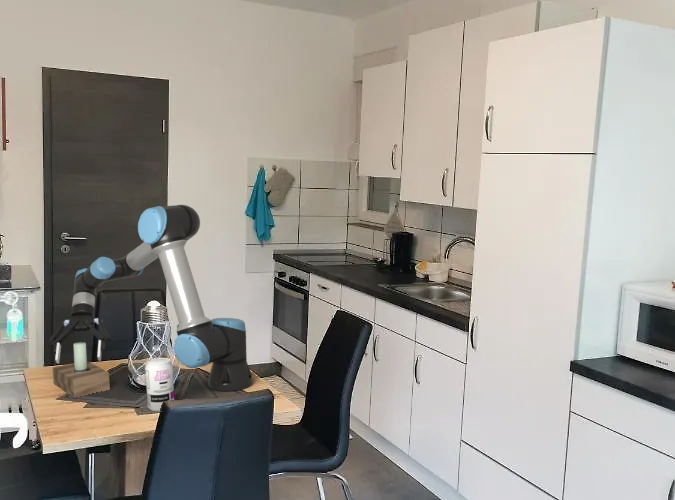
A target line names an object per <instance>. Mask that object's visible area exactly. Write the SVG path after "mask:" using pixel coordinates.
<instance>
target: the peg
mask: <svg viewBox="0 0 675 500" xmlns="http://www.w3.org/2000/svg"><path fill="white" fill-rule="evenodd" d="M73 361H74V362H73V363H74V367H75V368H74V371H75V374H76V373H81V372H85V371H87V361H88V359H87V342H85V341H79V342H74V343H73Z"/></svg>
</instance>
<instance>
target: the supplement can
mask: <svg viewBox="0 0 675 500" xmlns="http://www.w3.org/2000/svg"><path fill="white" fill-rule="evenodd" d="M173 369H174V367H173V363H172V362H171V359H170V358H168V357H166V358H165V357H158V358H153V359H152V358H151V359H150V360H148V361H147V363H146V365H145V381H146V382H145V383H146V386H145V387H146V403H147V408H148V409H149V410H150V411H152V412H161V411H160V408H161V405H162V403H163V402H164V401H170V400H174V401H175V389H174V388H175V386H174V370H173Z"/></svg>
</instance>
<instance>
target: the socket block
mask: <svg viewBox="0 0 675 500" xmlns="http://www.w3.org/2000/svg"><path fill="white" fill-rule="evenodd" d="M74 368H75V367H74V362H73V363H72V362H71V363H68V364H64V365H63V364H61V365H59V366H58V365H57V366H53V367H52V375H53V384H54V385H55V386H56V387H58V388H59V389H61V390H62V391H64V393H66V394H67V395H69V394H70V395H69V396H71V397H72V396H73V398H74V399H76V397H77V398H80V396H81V397H85V395H86V396H89V395H88V394H90V395H93V394H92V393H94V394H97V393H96V392H98V393H102V392H106V390H107V391H110V390H111V386H110V372H108V371H107V370H105V369H103V368H101V367H99V366H98V365H96V364H93V363H92V362H90V361H89V360H87V371H85V372H81V373H76V374H75V371H74ZM101 391H102V392H101Z"/></svg>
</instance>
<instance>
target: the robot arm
mask: <svg viewBox="0 0 675 500" xmlns="http://www.w3.org/2000/svg"><path fill="white" fill-rule="evenodd" d="M200 227H201V218H200V216H199V213H198V212H197V211H196V210H195V209H194V208H193V207H191V206H189V205H186V204H177V205H162V206H161V205H160V206H159V205H158V206H154V207H149V208H146V209H145V210H143V211H142V213H141V215H140V216H139V219H138V222H137V232H138V235H139V238H140V239H141V241H143V242H142V243H141V244H140V245H138V246H137V247H135V248H134V249H133V250H131V251H130V252H129V253H127V254H126V255H125V256H123V257H120V258H115V259H111V258H110V257H106V256H100V257H98V258H97V259H96V260H94V261H93V262H92V263H91V265H89V266H88V268H87V267H86V268H82V269H78V270H77V272H76V273H75V278H74V283H73V285H74V286H73V296H72V304H71V312H70V319H65V318H61V319H60V323H59V325H58V326H57V327H56V329H55V330H54V332H53V333H52V334H51V336H50V337H49V339H48V343H49V345H50V346H53V347H52V349H53V350H52V351H53V354H54V355H55V362H56V364H60V360H61V352H62V351H61V349H62V345H61V344H62V343H63V342H65V341H66V339H68V338H69V337H70V336H71V335H72V334H73V335H74V333H75V332H77V333H79V332H87V331H89V332H90V333H92V335H93V336H94V337H95V338H96V339H97V340H98V344H97V345H98V346H97V360H98V361H99V362H101V361H102V352H104V351H105V349H106V343H107V342H109V343H110V342H111V341H112V339H111V335H110V334H109V332H108V330H107V328H106V326H105V325H104V322H103V318H102V316H98V317H97V318H95V317H94V314H95V302H96V291H97V289H98V288H99V287H101V286H102V285H103V284H104V283H105V282H111V281H117V280H121V279H127V278H134V277H136V276H140V275H141V274H143V271H144V269H145V267H147V266H149V264H151V263H152V262H154V261H155V260H157V259H159V262H160V266H161V268H162V271H163V272H162V273H163V275H164V278H165V281H166V285H167V288H168V291H169V294H170V295H169V296H170V297H171V300H172V301H171V302H172V305H173V309H174V312H175V315H176V317H177V321H178V324H179V327H178V328H177V327H176V330H175V331H176V335H177V337H176V338H175V339H174V342H173V351H174V355H175V357H176V358H177V360H178V361H179V363H181V364H182V365H183V366H185V367H187V368H189V369H198V368H202V367H205V366H207V365H208V364H212V365H211V368H210V373H209V375H208V379H207V383H208V387H209V389H211V390H214V391H217V392H218V391H220V392H235V391H240V390H244V389H247V388H249V387H251V386H252V385H253V384H254V383H253V382H254V381H253V374H252V371H251V369H250V366H249V364H248V359H247V329H246V323H245V321H244V320H242V319H241V318H234V317H233V318H232V317H219V318H218V317H215V318H212V319H210V318H208V317H207V316H206V315H205V313H204V309H203V305H202V303H201V299H200V296H199V292H198V289H197V287H196V285H197V284H196V283H195V282H196V281H195V279H194V277H193V273H192V270H191V266H190V263H189V260H188V256H187V253H186V249H185V246H186V244H187V242H188V241H189V240H190V239H192V238H193V237H194V236H196V234H197V233H198V232H199V230H200ZM95 323H96V325H98V326H99V328H100V330H101V332H102V333H103V334H101V333H100V332H99V331H98V330H97V329H96V328H95V327H94V326H93V325H94V324H95ZM68 325H69V326H68ZM67 326H68V327H67ZM66 327H67V328H66ZM103 335H104V336H103Z"/></svg>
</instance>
